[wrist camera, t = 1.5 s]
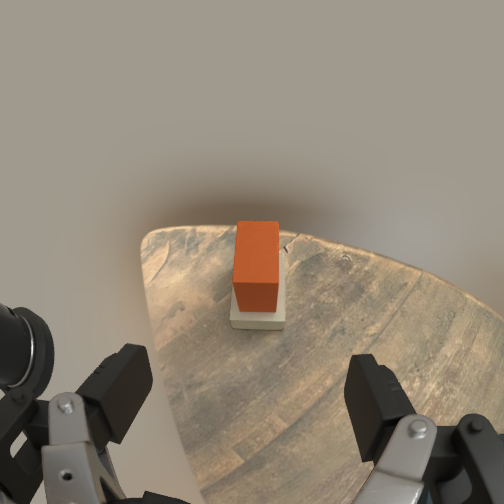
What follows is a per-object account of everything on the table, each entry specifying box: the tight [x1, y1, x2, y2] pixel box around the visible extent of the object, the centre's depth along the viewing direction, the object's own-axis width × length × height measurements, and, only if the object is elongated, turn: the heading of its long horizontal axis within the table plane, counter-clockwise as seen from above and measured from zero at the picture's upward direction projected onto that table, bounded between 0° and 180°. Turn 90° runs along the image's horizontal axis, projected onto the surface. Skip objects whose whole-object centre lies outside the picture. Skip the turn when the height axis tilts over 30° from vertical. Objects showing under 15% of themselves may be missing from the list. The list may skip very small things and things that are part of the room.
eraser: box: [230, 221, 285, 330], centre depth 22 cm, size 6×4×8 cm
